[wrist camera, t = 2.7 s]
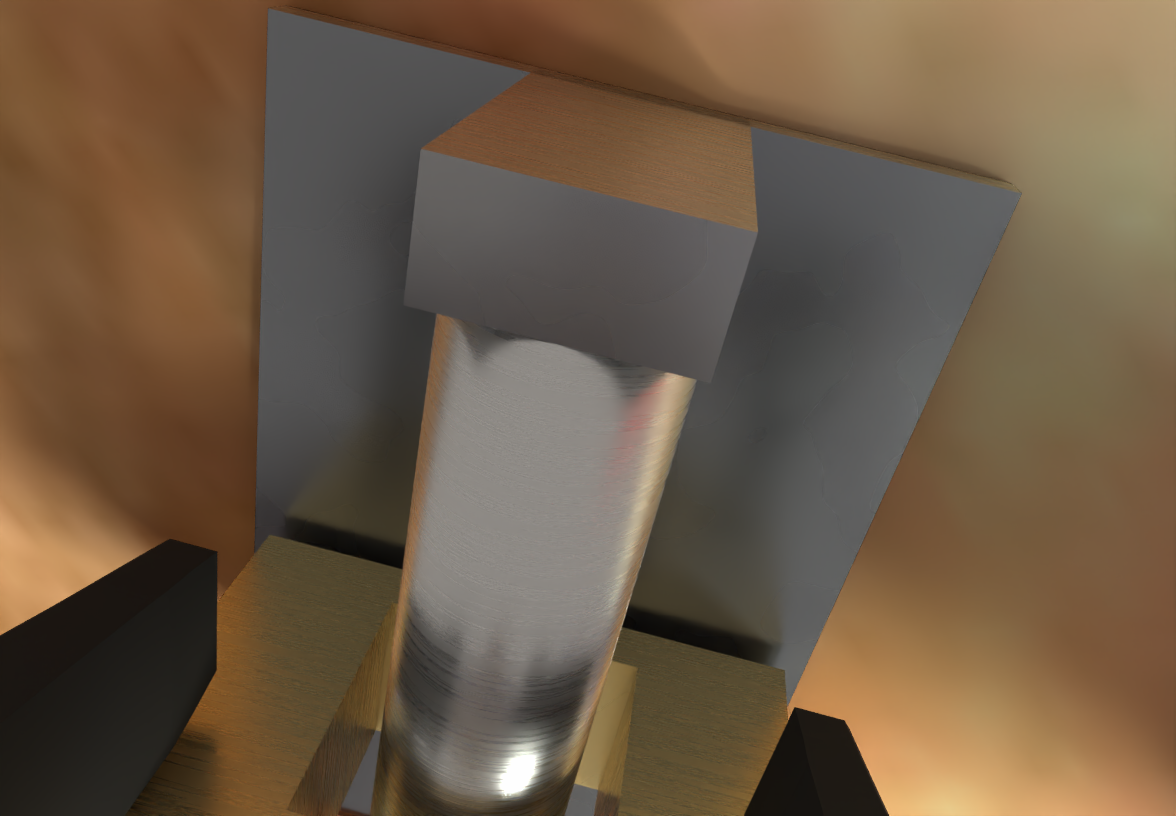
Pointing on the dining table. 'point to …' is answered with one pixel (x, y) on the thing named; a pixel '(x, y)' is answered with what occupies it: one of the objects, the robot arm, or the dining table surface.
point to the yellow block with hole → (358, 688)
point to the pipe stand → (578, 380)
